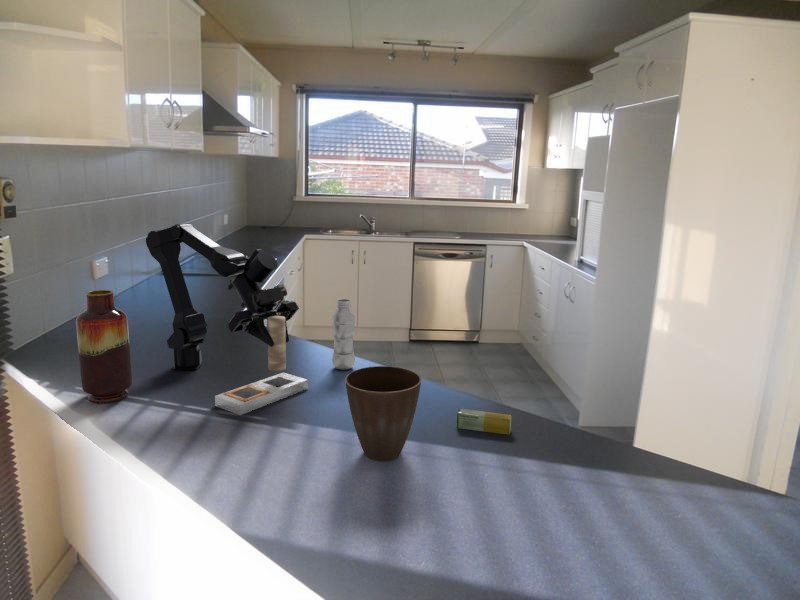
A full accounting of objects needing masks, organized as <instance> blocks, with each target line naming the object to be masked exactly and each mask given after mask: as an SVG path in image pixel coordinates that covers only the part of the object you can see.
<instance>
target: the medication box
mask: <svg viewBox="0 0 800 600" xmlns="http://www.w3.org/2000/svg"><path fill="white" fill-rule="evenodd" d="M456 428H457V429H463V430H469V431H470V430H471V431H477V432H478V431H479V432H487V433H494V434H501V435H511V428H512V414H506V413H497V412H488V411H482V410H474V409H466V408H458V409H457V412H456Z"/></svg>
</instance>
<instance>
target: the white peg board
mask: <svg viewBox="0 0 800 600" xmlns="http://www.w3.org/2000/svg"><path fill="white" fill-rule="evenodd" d="M279 385H280V386H279ZM276 386H278V387H276ZM305 389H306V390H308V389H309V379H306V378H303V377H301V376H297V375H294V374H290V373H286V372H281V373H278V374H275V375H272V376H269V377H266V378H263V379H260V380H258V381H254V382H252V383H249V384H246V385H243V386H240V387H239V386H238V387H237V388H234V389H232V390H231V389H230V390H228V391H226V392H222V393H219V394H216V395H214V406H215V407H217V408H220V409H223V410H225V411H228V412H230V413H233V414H235V415H238V416H243V415H244V414H247V413H250V412H252V410H253V411H254V410H257V409H260V408H263V407H265V406H268V405H271V404H273V403H275V402H279V401H280V399H281V400H284V399H286V398H288V396H289V397H291V396H294V395H296V394H298V392H299V393H301V392H304V391H306V390H305ZM303 390H304V391H303ZM293 394H294V395H293ZM270 403H271V404H270ZM267 404H268V405H267Z"/></svg>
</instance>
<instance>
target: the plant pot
mask: <svg viewBox="0 0 800 600" xmlns="http://www.w3.org/2000/svg"><path fill="white" fill-rule="evenodd" d="M344 380H345V386H346V394H347V401H348V406H349V410H350V414H351V418H352V423H353V426H354V429H355V432H356V436H357V437H358V441H359V443H360V447H361V449H362V451H363V454H364V455H365V457H367V458H368V459H370V460H372V461H377V462H388V461H389V462H390V461H393V460H395V459H397V458H399V457H400V456H401V454H402V451H403V449H404V447H405V444H406V441H407V439H408V436H409V433H410V431H411V428H412V425H413V420H414V417H415V413H416V409H417V406H418V401H419V395H420V390H421V386H422V385H421V384H422V378H421V376H420V375H419V373H417V372H415V371H413V370H411V369H407V368H403V367H400V366H399V367H398V366H389V365H388V366H387V365H381V366H380V365H379V366H368V367H362V368H358V369H355V370H353V371H351V372H349V373H348V374H347V375H346V376H345V378H344Z"/></svg>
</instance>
